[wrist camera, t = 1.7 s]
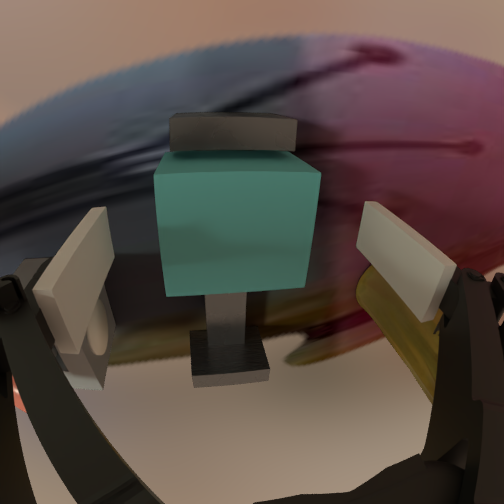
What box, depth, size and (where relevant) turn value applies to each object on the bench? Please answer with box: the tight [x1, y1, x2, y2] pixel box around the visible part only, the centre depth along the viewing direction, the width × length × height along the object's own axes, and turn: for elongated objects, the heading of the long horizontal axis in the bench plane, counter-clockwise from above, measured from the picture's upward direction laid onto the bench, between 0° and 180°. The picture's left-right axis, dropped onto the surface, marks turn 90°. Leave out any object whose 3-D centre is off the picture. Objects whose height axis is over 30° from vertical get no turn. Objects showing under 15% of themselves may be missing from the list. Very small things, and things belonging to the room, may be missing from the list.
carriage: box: [154, 150, 321, 297], centre depth 16 cm, size 6×7×7 cm
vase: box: [356, 265, 443, 405], centre depth 20 cm, size 6×6×14 cm
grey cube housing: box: [13, 258, 116, 390], centre depth 18 cm, size 7×7×7 cm
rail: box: [169, 112, 297, 388], centre depth 19 cm, size 19×6×5 cm, turn 177°
